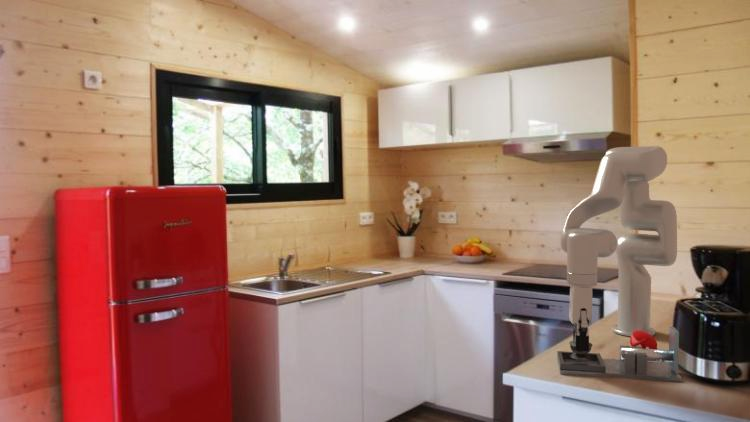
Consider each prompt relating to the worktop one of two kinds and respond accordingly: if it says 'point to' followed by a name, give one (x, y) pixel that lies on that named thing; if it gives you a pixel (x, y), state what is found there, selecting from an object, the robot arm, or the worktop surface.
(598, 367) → the jig
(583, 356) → the salt shaker
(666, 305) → the worktop surface
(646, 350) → the shaft
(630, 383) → the worktop surface
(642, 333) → the cap
